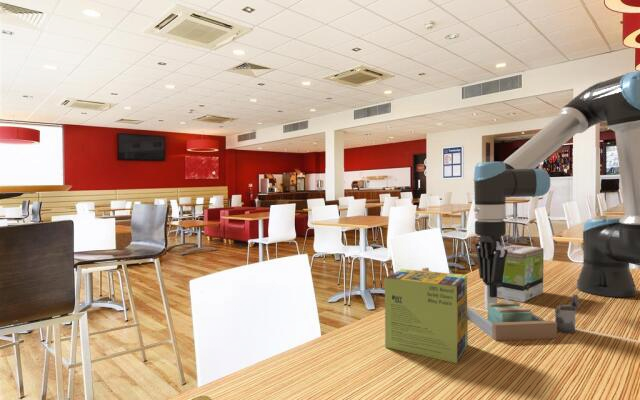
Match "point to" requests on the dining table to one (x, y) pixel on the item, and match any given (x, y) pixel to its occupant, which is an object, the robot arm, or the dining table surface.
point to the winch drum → (566, 316)
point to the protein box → (426, 313)
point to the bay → (515, 327)
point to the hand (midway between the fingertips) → (490, 307)
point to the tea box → (522, 273)
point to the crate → (508, 312)
